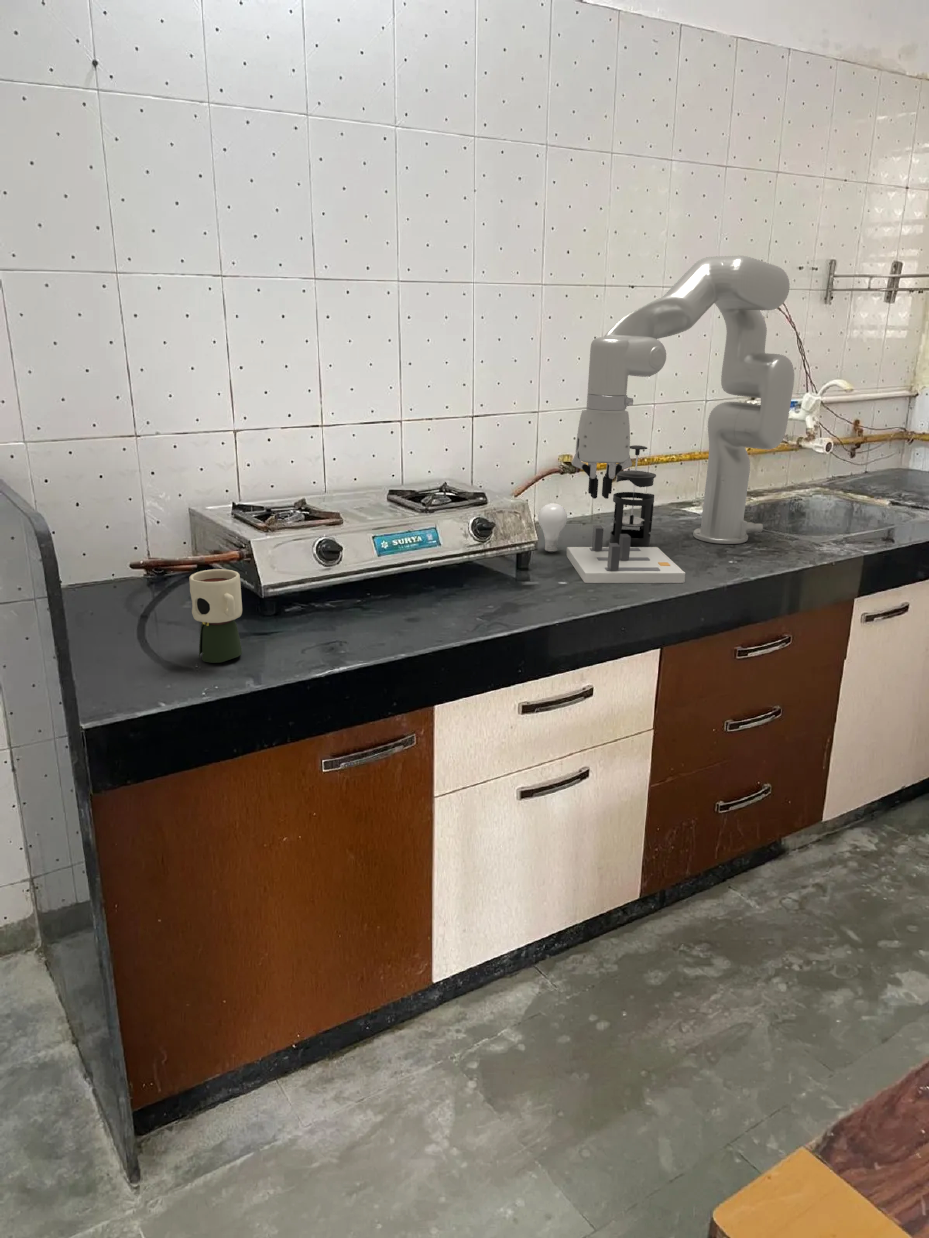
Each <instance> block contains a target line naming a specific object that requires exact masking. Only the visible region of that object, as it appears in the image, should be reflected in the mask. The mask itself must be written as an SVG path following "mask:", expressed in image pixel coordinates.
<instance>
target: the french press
mask: <svg viewBox="0 0 929 1238" xmlns="http://www.w3.org/2000/svg"><path fill="white" fill-rule="evenodd" d="M630 449H631V450H634V451H635V452H634V455H635V467H634V470H621V471H620V472H619V473H618V474H616V475H615V477H616V483H618V482H622V481H623V482H624V481H629V482H631V483H632V484H633V489H632V491H620V492H615V493H613V497H612V502H613V503H614V510H613V511H614V513H613V518H612V521H613V524H612V525H613V526H612V530H611V531H610V534H609V543H617V544H618V545H619V540H620V534H628V535H629V536H630V537H631V542H630V547H651V546H650V545H651V534H650V533H651V532H652V525H653V518H654V517H653V516H654V515H653V514H654V506H655V505H654V504H655V494H652V493H650V492H648V493H645V492H638V491H637V492H636V487H638V488H648V487H653V486H654V479H655V478H657V474H655V473H654V472H649V471H643V470H638V461H639V460H638V459H639V456H640V452H641V450H648V447H647V446H645V445H640V444H639V445H638V444H637V445H634V444H633V445H630ZM624 506H628V507H629V506H630V507H631V514H630V515H628V516H625V515H624V508H625V507H624ZM635 507H641V508H640V510H641V511H640V517H638V516H634V508H635ZM623 527H625V529H624V528H623ZM626 527H627V528H626ZM630 528H639V529H630ZM607 545H608V546H607V547H609V544H607Z"/></svg>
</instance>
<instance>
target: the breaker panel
mask: <svg viewBox="0 0 929 1238" xmlns="http://www.w3.org/2000/svg"><path fill="white" fill-rule="evenodd" d="M608 551H609V547H608V546H602V550H594V549H593V548H592V546H567V547H566V557H567V559H568V560H569V562H570V563H571V565H572V566H573V567H574V569H575V571H576V572H577V574H578V575H579V577H580V578H581V580H582V581H583V583H584V584H685V580H686V572H685V571H683V570H682V569H681V567H680V566H679V565H677V564H676V563H675V562H674V561H673V560H672V559H670V557H669V556H668V555H666V554H665V553H664V552H663V551H662V550H661V549H660V548H659V547H658V546H650V547H630V554H629V560H621V559H620V558H619V569H618V570H610V569H609V568H608V567H607V563H608Z"/></svg>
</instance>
